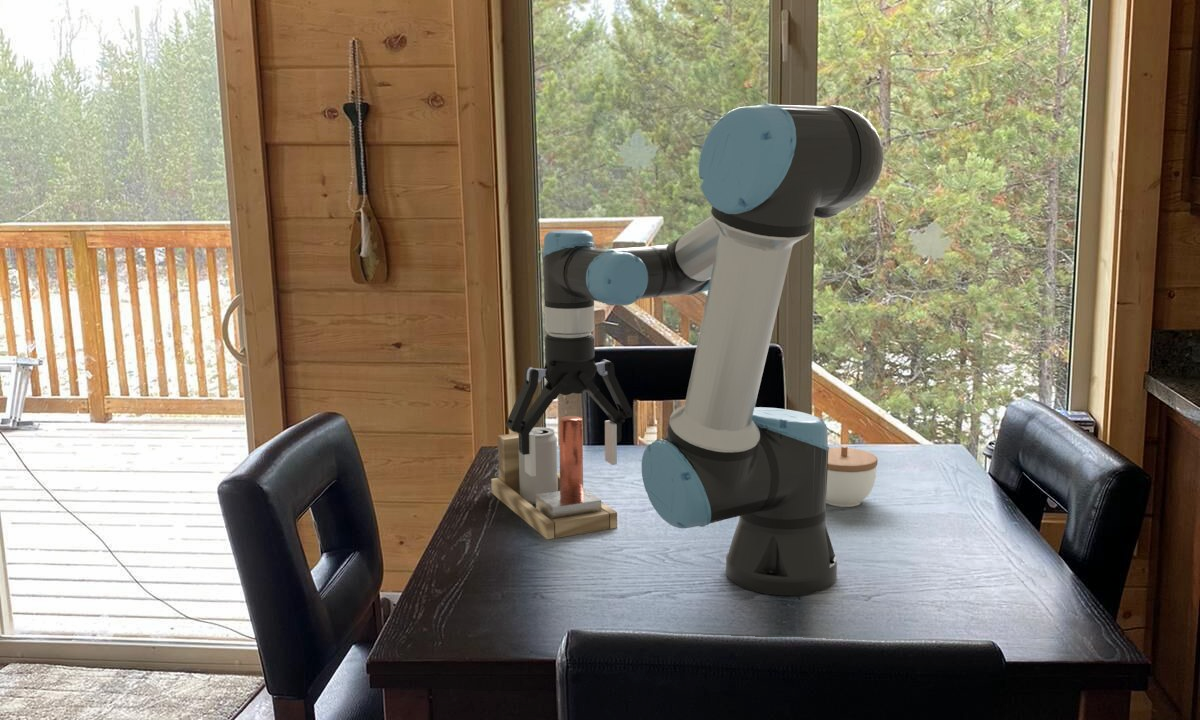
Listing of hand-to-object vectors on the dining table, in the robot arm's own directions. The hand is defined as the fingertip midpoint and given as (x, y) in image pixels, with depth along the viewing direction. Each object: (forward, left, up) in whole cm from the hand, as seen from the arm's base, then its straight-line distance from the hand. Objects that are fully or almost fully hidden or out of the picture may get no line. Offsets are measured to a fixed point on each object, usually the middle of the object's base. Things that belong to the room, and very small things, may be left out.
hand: (571, 468), depth 173 cm
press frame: (+8, 0, -9) cm, 13 cm away
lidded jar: (-9, -45, -10) cm, 47 cm away
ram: (+1, 0, -9) cm, 9 cm away
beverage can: (+14, 0, -10) cm, 17 cm away
